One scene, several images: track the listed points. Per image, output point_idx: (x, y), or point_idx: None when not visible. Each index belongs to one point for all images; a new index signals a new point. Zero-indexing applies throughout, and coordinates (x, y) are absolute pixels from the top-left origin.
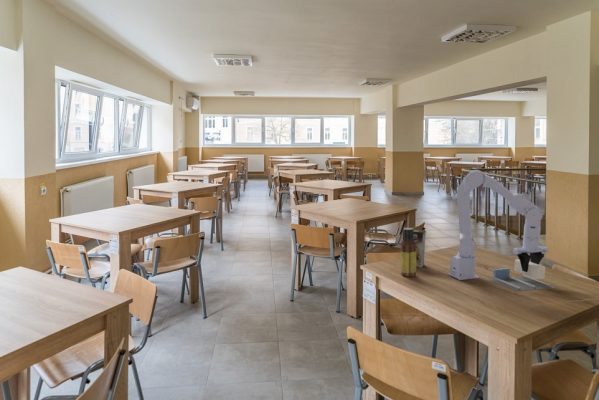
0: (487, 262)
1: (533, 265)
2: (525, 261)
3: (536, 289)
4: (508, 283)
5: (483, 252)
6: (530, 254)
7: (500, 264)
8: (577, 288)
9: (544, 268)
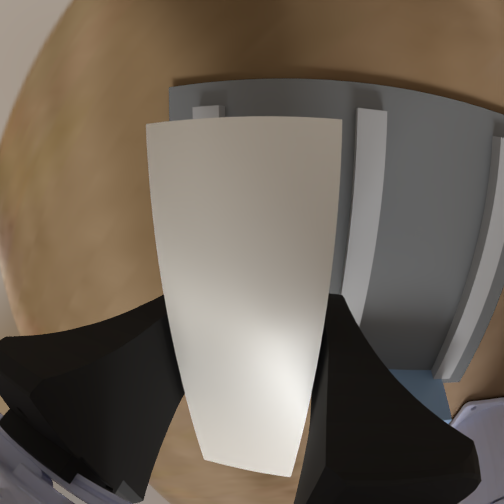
0: (223, 481)
1: (294, 274)
2: (400, 393)
3: (373, 84)
4: (492, 258)
5: (173, 495)
6: (145, 477)
7: (191, 461)
8: (65, 87)
9: (177, 122)
